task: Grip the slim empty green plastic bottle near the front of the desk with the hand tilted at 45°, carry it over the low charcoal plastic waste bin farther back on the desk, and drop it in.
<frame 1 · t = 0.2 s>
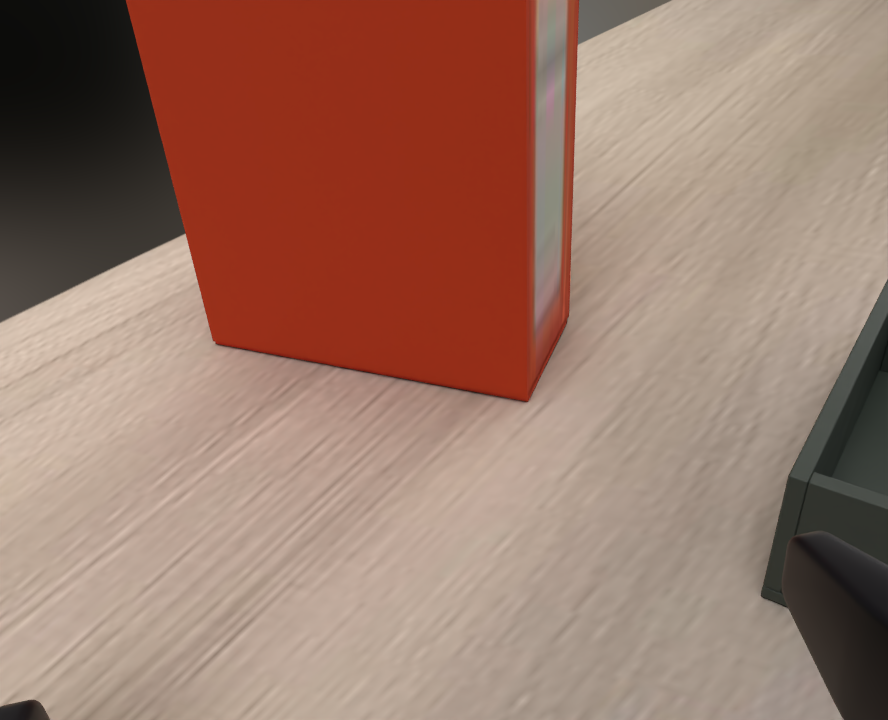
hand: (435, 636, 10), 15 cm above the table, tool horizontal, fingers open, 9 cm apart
file binder: (391, 337, 45), on the table
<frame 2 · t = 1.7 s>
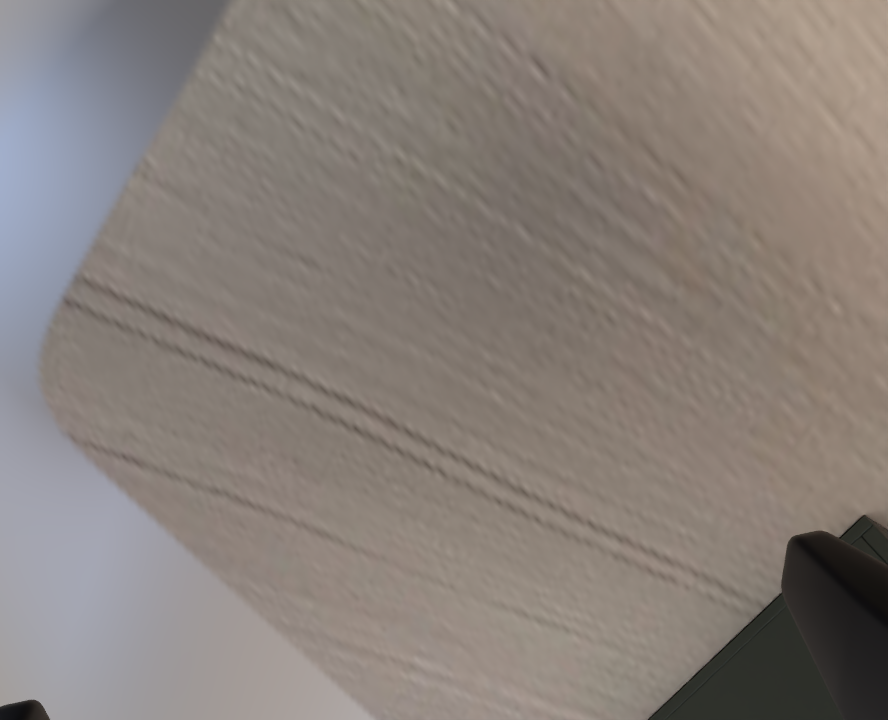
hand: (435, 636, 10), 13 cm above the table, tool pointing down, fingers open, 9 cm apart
bin: (830, 712, 36), on the table
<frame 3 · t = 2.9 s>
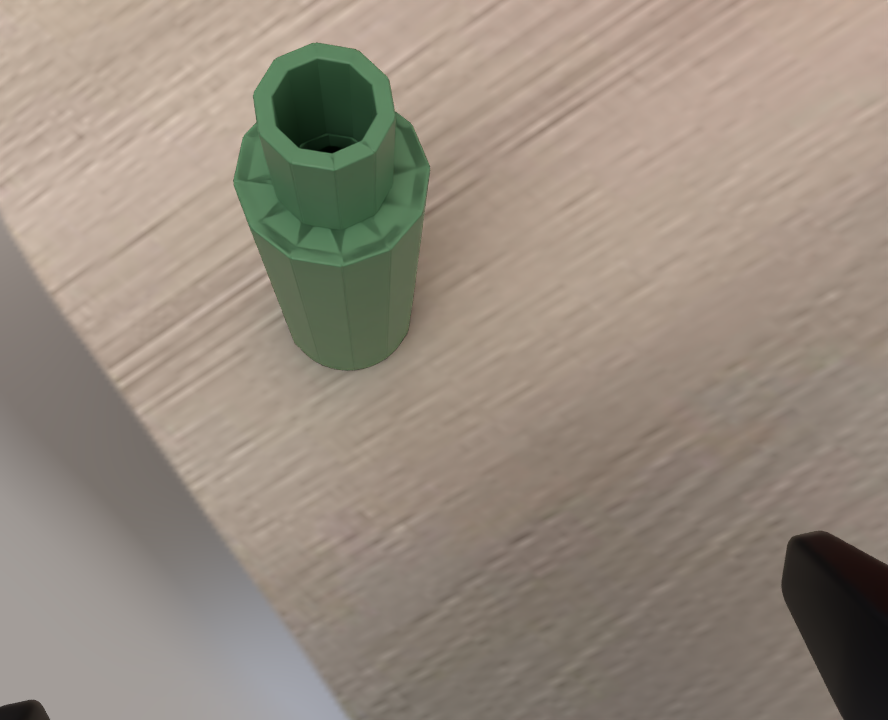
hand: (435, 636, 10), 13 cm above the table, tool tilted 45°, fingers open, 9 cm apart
bottle: (349, 310, 25), on the table
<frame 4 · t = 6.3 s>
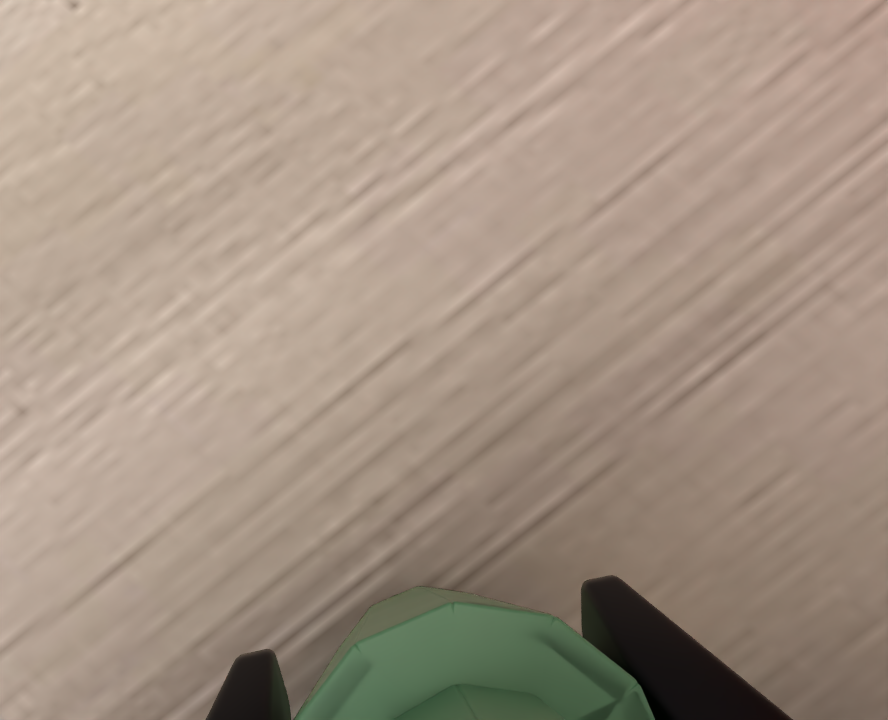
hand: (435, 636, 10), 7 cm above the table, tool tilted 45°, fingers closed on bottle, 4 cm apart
bottle: (429, 686, 16), on the table, touching gripper
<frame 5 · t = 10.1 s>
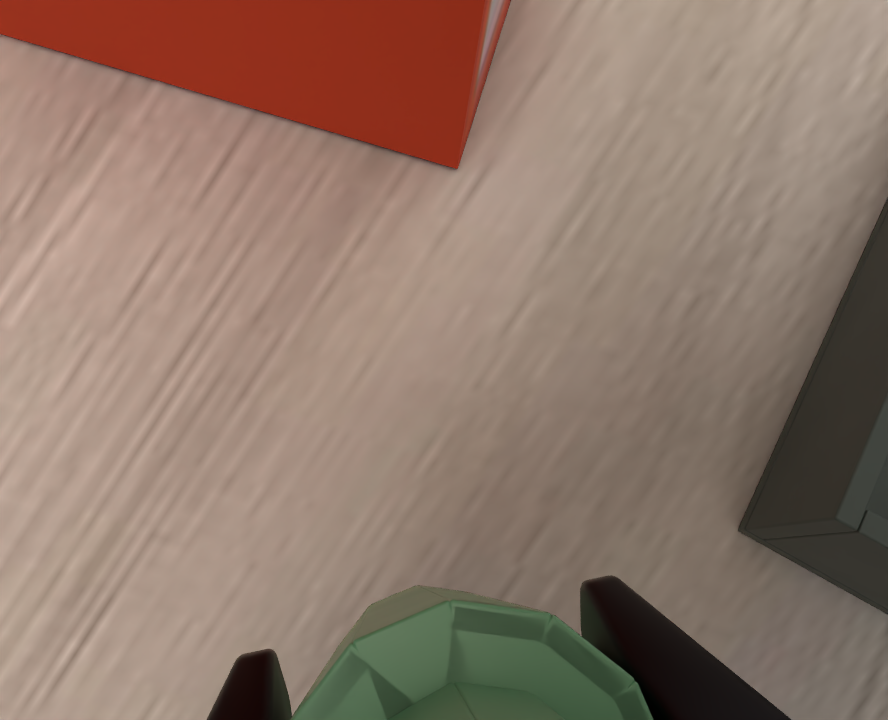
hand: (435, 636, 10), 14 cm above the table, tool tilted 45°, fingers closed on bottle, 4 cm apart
bottle: (428, 685, 16), point 7 cm above the table, touching gripper
file binder: (236, 3, 28), on the table
when the fingers open (10 cm above the table, at t = 14.1 s): bottle drops 2 cm, resting on bin.
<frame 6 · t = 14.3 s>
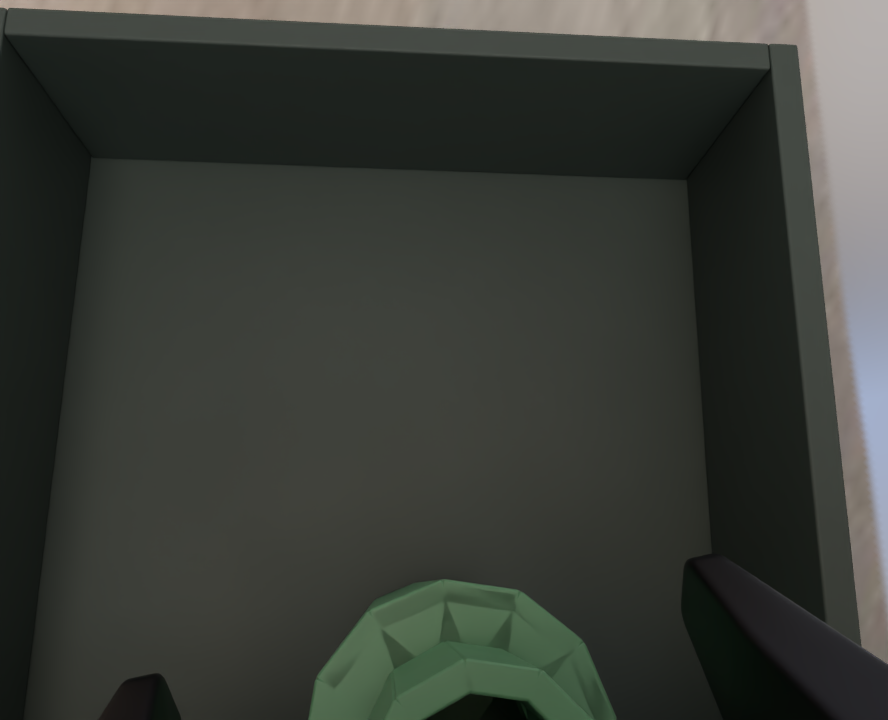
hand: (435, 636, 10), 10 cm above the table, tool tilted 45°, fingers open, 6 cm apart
bin: (388, 469, 20), on the table
bottle: (425, 669, 18), point 1 cm above the table, touching bin
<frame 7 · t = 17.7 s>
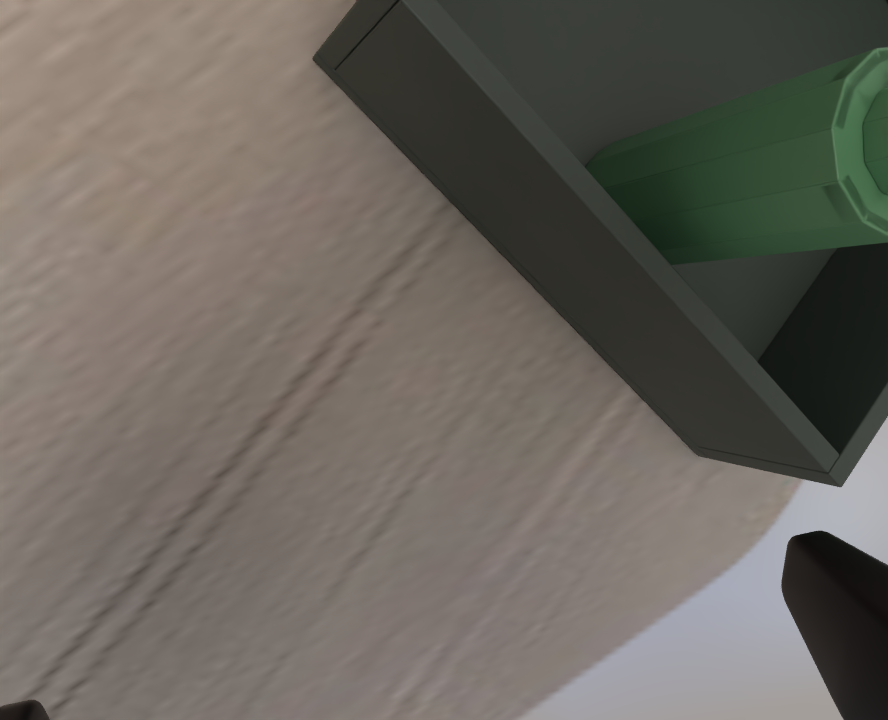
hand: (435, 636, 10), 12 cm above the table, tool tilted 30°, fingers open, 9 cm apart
bin: (684, 81, 25), on the table
bottle: (629, 205, 24), resting on bin
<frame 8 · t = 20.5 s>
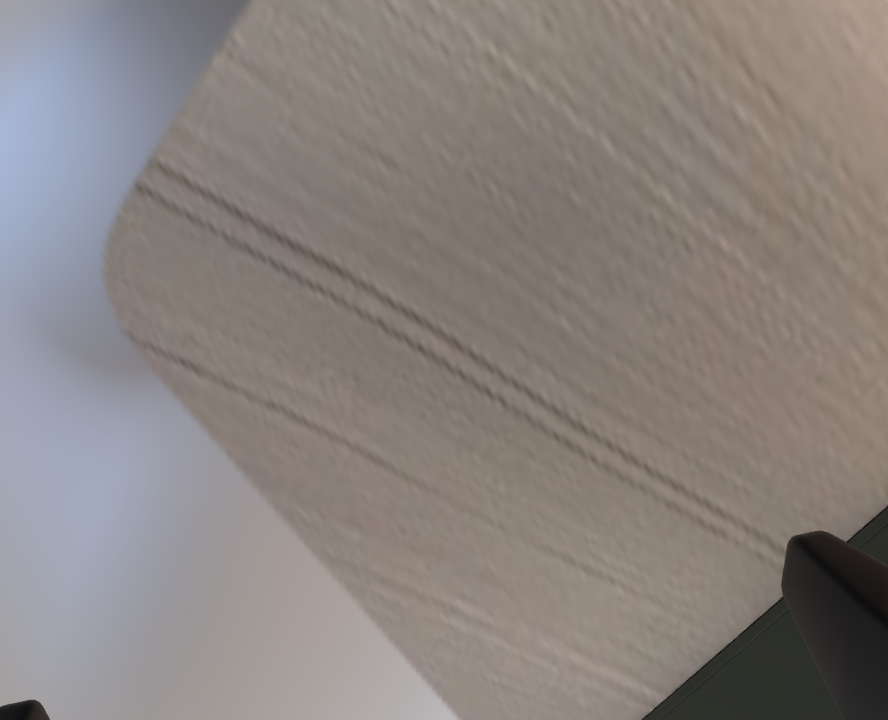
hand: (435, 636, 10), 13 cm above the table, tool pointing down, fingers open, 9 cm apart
bin: (867, 687, 36), on the table
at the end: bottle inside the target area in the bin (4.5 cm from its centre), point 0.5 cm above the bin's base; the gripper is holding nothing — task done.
